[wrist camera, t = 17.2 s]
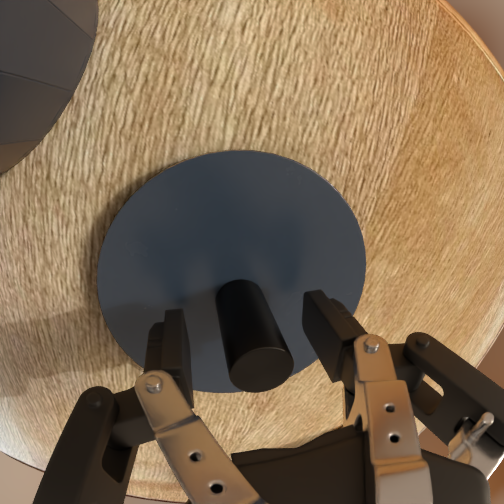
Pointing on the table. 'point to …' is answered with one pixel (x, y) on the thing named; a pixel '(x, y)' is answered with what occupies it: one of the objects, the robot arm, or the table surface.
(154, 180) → the lid
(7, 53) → the pot
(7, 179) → the table surface
